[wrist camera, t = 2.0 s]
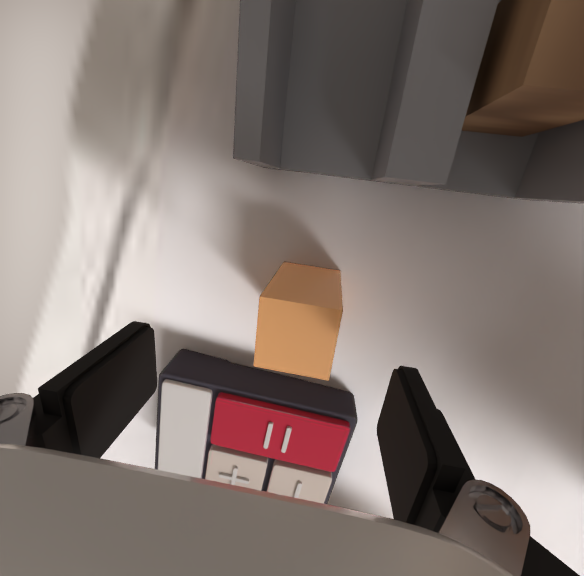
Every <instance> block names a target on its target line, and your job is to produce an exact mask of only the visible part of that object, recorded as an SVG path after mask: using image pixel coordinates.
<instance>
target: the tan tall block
mask: <svg viewBox="0 0 584 576" xmlns="http://www.w3.org/2000/svg"><path fill="white" fill-rule="evenodd" d="M342 312H343V305H342V290H341V274H340V270H334V269H327V268H321V267H314V266H308V265H301V264H295V263H288V262H283V264H282V265H281V267H280V268H279V270H278V271H277V272H276V274H275V275H274V277H273V278H272V280H271V281H270V282H269V284H268V285H267V287H266V288H265V290H264V291H263V292H262V294H261V295H260V299H259V310H258V321H257V332H256V344H255V355H254V367H260V368H265V369H270V370H275V371H280V372H286V373H291V374H296V375H301V376H307V377H312V378H317V379H322V380H328V381H329V377H330V372H331V367H332V362H333V357H334V352H335V347H336V342H337V337H338V332H339V327H340V322H341V317H342Z"/></svg>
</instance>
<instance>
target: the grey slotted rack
mask: <svg viewBox="0 0 584 576" xmlns="http://www.w3.org/2000/svg"><path fill="white" fill-rule="evenodd" d="M500 1H501V0H240V18H239V40H238V62H237V84H236V106H235V129H234V151H233V158H234V159H237V160H241V161H244V162H248V163H251V164H255V165H258V166H261V167H265V168H273V169H282V170H290V171H298V172H306V173H314V174H322V175H330V176H338V177H346V178H354V179H362V180H370V181H378V182H386V183H394V184H402V185H410V186H418V187H427V188H435V189H443V190H451V191H459V192H467V193H475V194H483V195H491V196H499V197H507V198H515V199H523V200H535V201H552V202H569V203H584V120H582V121H578V122H574V123H571V124H567V125H563V126H560V127H556V128H552V129H549V130H545V131H542V132H538V133H534V134H531V135H527V136H523V137H518V136H508V135H499V134H489V133H480V132H470V131H461V130H462V127H463V123H464V120H465V116H466V113H467V109H468V106H469V102H470V99H471V95H472V92H473V88H474V85H475V81H476V78H477V74H478V71H479V67H480V64H481V60H482V57H483V53H484V50H485V46H486V43H487V39H488V36H489V33H490V29H491V26H492V22H493V19H494V15H495V12H496V8H497V5H498V3H499V2H500Z"/></svg>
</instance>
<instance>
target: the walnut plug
mask: <svg viewBox="0 0 584 576" xmlns="http://www.w3.org/2000/svg"><path fill="white" fill-rule="evenodd" d="M582 120H584V0H501V1H500V2H499V3H498V5H497V8H496V12H495V15H494V19H493V22H492V26H491V29H490V33H489V36H488V39H487V43H486V46H485V50H484V53H483V57H482V60H481V64H480V67H479V71H478V74H477V78H476V81H475V85H474V88H473V92H472V95H471V99H470V102H469V106H468V109H467V113H466V116H465V120H464V123H463V127H462V130H461V131H470V132H480V133H489V134H499V135H508V136H518V137H523V136H527V135H531V134H534V133H538V132H542V131H545V130H549V129H552V128H556V127H560V126H563V125H567V124H571V123H574V122H578V121H582Z"/></svg>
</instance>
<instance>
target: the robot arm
mask: <svg viewBox="0 0 584 576" xmlns="http://www.w3.org/2000/svg"><path fill="white" fill-rule="evenodd" d="M156 387H157V372H156V355H155V338H154V330H153V328H151V327H150V325H149V324H147V323H141V322H135V321H133V322H131V323H130V324H128V325H127V326H125V327H124V328H122V329H121V330H120V331H118V332H117V333H115V334H114V335H113V336H111V337H110V338H108V339H107V340H105V341H104V342H103V343H101V344H100V345H98V346H97V347H96V348H94V349H93V350H91V351H90V352H89V353H87V354H86V355H84V356H83V357H81V358H80V359H79V360H77V361H76V362H74V363H73V364H72V365H70V366H69V367H67V368H66V369H64V370H63V371H62V372H60V373H59V374H57V375H56V376H55V377H53V378H52V379H50V380H49V381H47V382H46V383H45V384H43V385H42V386H40V387H39V388H38V391H39V394H38V395H37V396H35V397H34V398H32V397H31V396H30V395H28V394H24V393H13V394H6V395H2V396H0V576H580V575H578V574H577V573H576V572H574V571H573V570H572V569H571V568H569V567H568V566H567V565H566V564H564V563H563V562H562V561H561V560H559V559H558V558H557V557H556V556H554V555H553V554H552V553H551V552H549V551H548V550H547V549H546V548H544V547H543V546H542V545H541V544H539V543H538V542H537V541H536V540H534V539H533V538H532V537H531V536H530V525H529V522H528V519H527V517H526V515H525V514H524V512H523V511H522V509H521V508H520V506H519V505H518V504H517V503H516V502H515V501H514V500H513V499H512V498H511V497H510V496H509V495H508V494H506V493H505V492H504V491H503V490H501V489H500V488H498V487H496V486H494V485H493V484H491V483H488V482H485V481H482V480H475V478H474V476H473V474H472V472H471V470H470V468H469V466H468V464H467V462H466V460H465V458H464V456H463V454H462V452H461V450H460V448H459V446H458V444H457V442H456V440H455V438H454V436H453V434H452V432H451V430H450V428H449V426H448V424H447V422H446V420H445V418H444V416H443V414H442V412H441V411H440V410H438V409H436V407H435V405H434V402H433V400H432V398H431V396H430V394H429V392H428V390H427V388H426V386H425V384H424V382H423V380H422V378H421V376H420V374H419V372H418V370H417V369H416V368H411V367H405V366H400V367H399V368H398V369H394V370H393V372H392V376H391V379H390V383H389V386H388V390H387V393H386V396H385V400H384V403H383V407H382V410H381V413H380V417H379V420H378V424H377V436H378V441H379V446H380V451H381V456H382V461H383V466H384V471H385V476H386V481H387V486H388V491H389V496H390V502H391V507H392V512H393V517H394V519H390V518H386V517H381V516H377V515H372V514H368V513H364V512H359V511H355V510H350V509H346V508H342V507H337V506H332V505H327V504H323V503H318V502H313V501H308V500H303V499H299V498H294V497H289V496H284V495H280V494H275V493H270V492H265V491H260V490H256V489H251V488H246V487H241V486H236V485H231V484H226V483H221V482H216V481H211V480H206V479H201V478H196V477H191V476H186V475H181V474H177V473H172V472H167V471H162V470H156V469H151V468H146V467H141V466H136V465H131V464H126V463H121V462H116V461H110V460H105V459H100V458H101V456H102V455H103V454H104V453H105V451H106V450H107V449H108V448H109V447H110V445H111V444H112V443H113V442H114V441H115V439H116V438H117V437H118V436H119V435H120V433H121V432H122V431H123V430H124V429H125V427H126V426H127V425H128V424H129V423H130V421H131V420H132V419H133V418H134V416H135V415H136V414H137V413H138V412H139V410H140V409H141V408H142V407H143V406H144V404H145V403H146V402H147V401H148V400H149V398H150V397H151V396H152V395H153V394H154V392H155V390H156Z"/></svg>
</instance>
